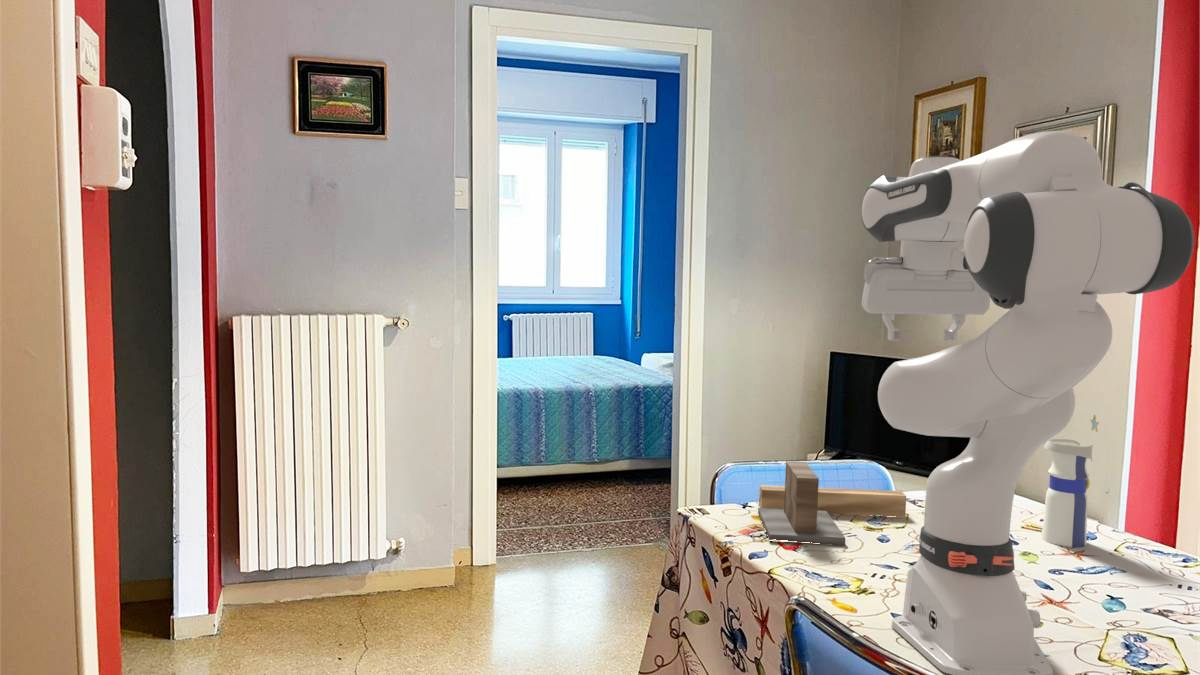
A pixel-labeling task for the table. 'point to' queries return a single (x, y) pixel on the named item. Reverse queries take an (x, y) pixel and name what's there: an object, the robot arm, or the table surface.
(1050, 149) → the robot arm
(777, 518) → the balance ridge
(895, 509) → the oak rod
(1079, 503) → the water bottle
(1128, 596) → the table surface
